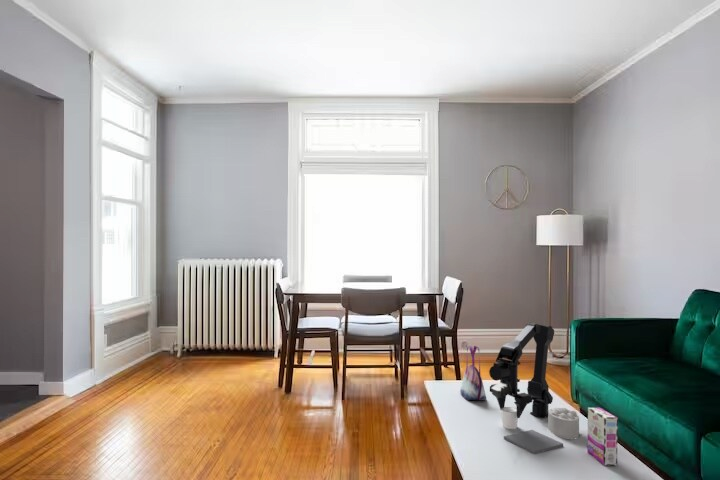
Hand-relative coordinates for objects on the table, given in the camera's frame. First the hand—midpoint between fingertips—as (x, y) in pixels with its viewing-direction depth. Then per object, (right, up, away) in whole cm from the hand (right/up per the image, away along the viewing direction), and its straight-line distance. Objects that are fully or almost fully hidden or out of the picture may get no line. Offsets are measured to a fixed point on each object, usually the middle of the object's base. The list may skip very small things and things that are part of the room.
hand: (510, 414), depth 200 cm
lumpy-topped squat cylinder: (+20, -5, -6) cm, 21 cm away
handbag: (-6, -6, +38) cm, 39 cm away
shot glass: (0, -5, 0) cm, 5 cm away
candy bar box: (+23, -5, -30) cm, 38 cm away
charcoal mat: (+4, -5, -16) cm, 17 cm away
